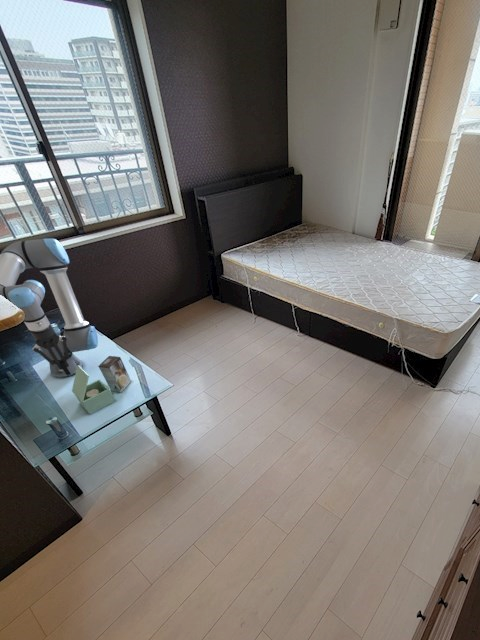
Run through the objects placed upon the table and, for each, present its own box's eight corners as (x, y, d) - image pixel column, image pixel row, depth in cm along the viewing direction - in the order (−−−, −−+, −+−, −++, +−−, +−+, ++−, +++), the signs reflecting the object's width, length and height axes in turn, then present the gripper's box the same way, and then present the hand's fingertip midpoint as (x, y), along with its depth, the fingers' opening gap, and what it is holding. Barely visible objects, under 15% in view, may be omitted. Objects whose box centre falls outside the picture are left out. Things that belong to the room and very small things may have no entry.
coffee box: (120, 379, 181) (109, 355, 170) (131, 381, 180) (120, 356, 169) (110, 390, 175) (97, 365, 164) (121, 392, 174) (109, 367, 163)
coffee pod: (100, 395, 171) (95, 387, 167) (105, 401, 168) (100, 392, 164) (88, 401, 168) (84, 393, 164) (93, 406, 165) (89, 398, 161)
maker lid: (79, 365, 159) (77, 365, 158) (89, 375, 153) (87, 375, 153) (73, 391, 162) (71, 391, 162) (83, 401, 157) (81, 401, 156)
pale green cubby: (105, 391, 174) (99, 379, 169) (115, 401, 169) (109, 389, 164) (80, 403, 168) (73, 391, 162) (89, 414, 162) (82, 402, 157)
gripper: (25, 337, 130) (55, 384, 146) (61, 324, 137) (86, 370, 153) (18, 330, 134) (49, 376, 150) (53, 317, 141) (79, 363, 157)
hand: (67, 373), depth 152 cm, fingers closed
